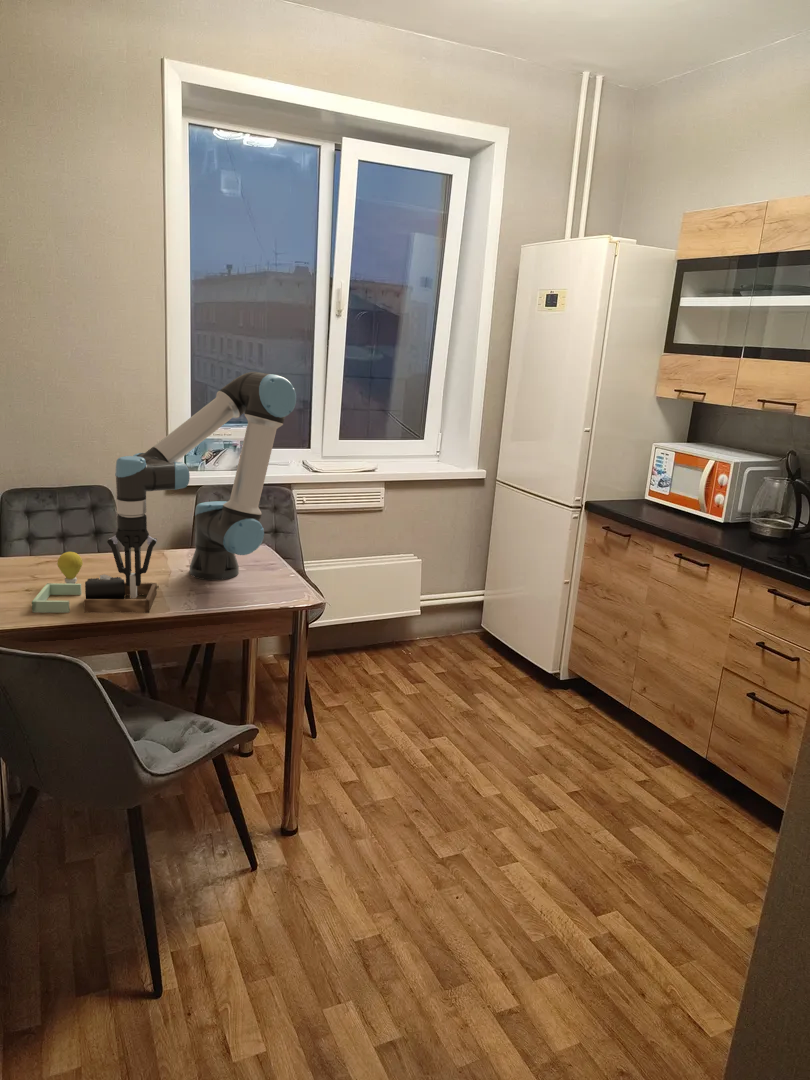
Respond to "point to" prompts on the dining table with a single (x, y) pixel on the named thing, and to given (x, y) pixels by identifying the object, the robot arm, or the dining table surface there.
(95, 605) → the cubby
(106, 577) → the grey metal bar
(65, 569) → the light bulb
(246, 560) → the dining table surface
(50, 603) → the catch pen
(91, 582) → the end cap
